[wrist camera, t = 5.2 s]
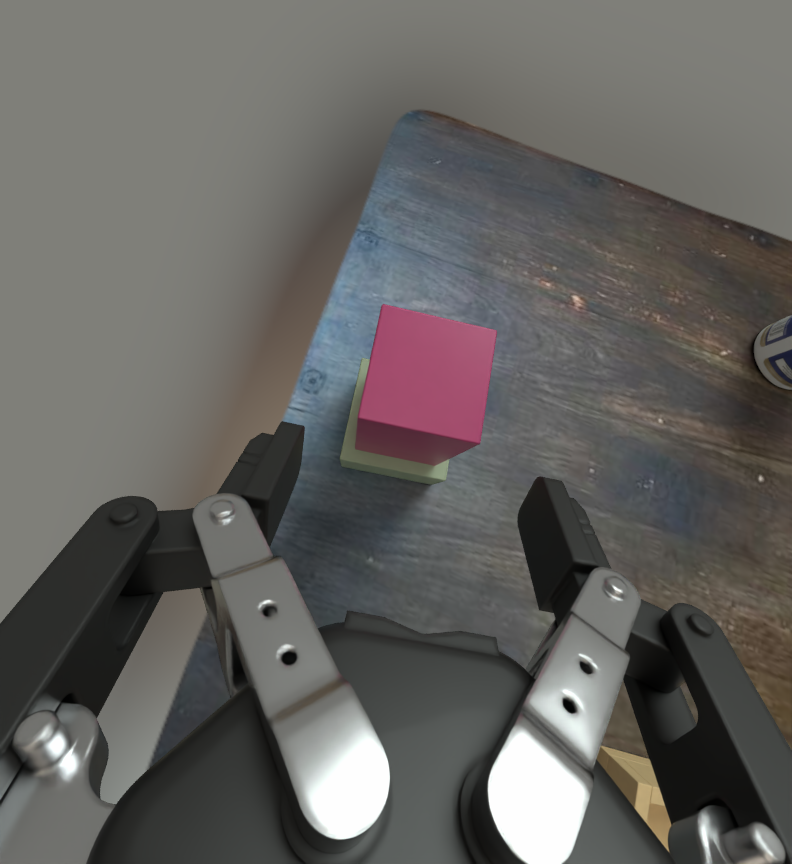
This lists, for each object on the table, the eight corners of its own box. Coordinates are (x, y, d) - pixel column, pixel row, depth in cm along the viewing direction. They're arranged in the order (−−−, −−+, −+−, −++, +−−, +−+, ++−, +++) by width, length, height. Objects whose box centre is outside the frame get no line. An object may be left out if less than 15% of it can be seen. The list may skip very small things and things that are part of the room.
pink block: (354, 449, 22) (356, 418, 15) (371, 371, 23) (382, 302, 16) (435, 466, 23) (480, 444, 15) (449, 388, 24) (498, 329, 16)
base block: (341, 466, 26) (339, 459, 22) (360, 378, 27) (361, 357, 24) (431, 485, 27) (445, 481, 23) (446, 398, 28) (462, 379, 24)
